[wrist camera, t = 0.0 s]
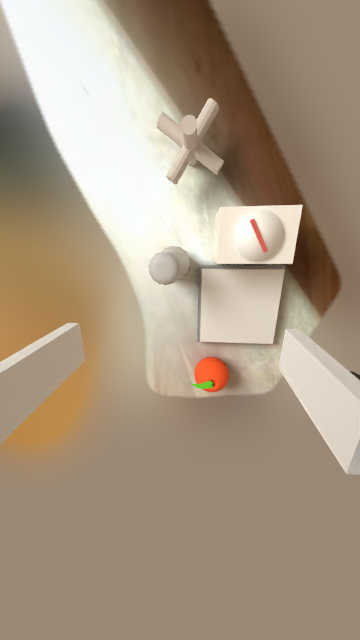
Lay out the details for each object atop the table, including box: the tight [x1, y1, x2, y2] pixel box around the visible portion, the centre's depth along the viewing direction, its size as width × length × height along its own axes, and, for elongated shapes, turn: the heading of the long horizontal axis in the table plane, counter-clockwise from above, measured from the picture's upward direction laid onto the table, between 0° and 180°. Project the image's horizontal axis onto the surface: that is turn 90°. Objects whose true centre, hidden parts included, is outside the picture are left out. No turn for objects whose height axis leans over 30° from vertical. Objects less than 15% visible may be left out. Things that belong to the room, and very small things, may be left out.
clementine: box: [190, 357, 229, 392], centre depth 42 cm, size 8×7×7 cm
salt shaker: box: [149, 246, 190, 285], centre depth 33 cm, size 6×6×13 cm
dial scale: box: [197, 205, 302, 344], centre depth 34 cm, size 23×15×11 cm, turn 0°
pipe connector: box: [157, 98, 224, 184], centre depth 28 cm, size 10×10×10 cm
